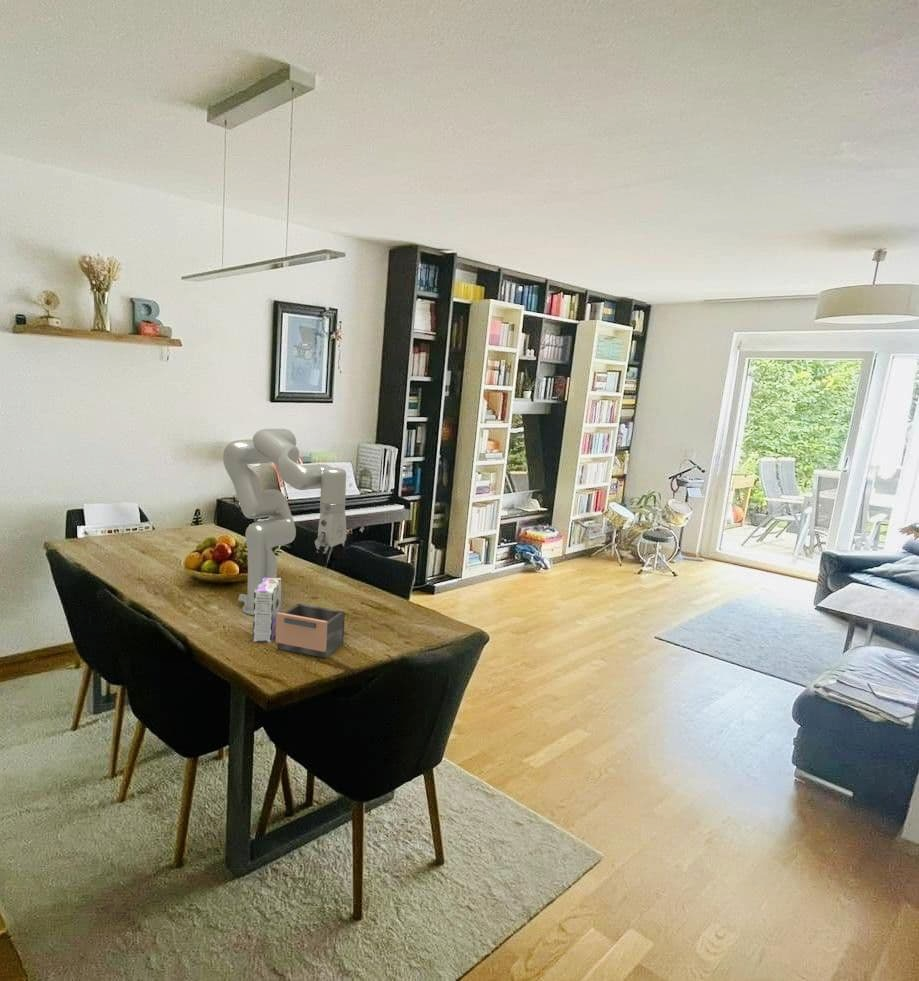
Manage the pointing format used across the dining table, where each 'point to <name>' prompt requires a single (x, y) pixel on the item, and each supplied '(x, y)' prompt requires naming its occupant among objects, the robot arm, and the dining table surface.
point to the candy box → (266, 609)
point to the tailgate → (301, 631)
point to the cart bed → (333, 628)
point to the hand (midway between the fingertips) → (330, 561)
